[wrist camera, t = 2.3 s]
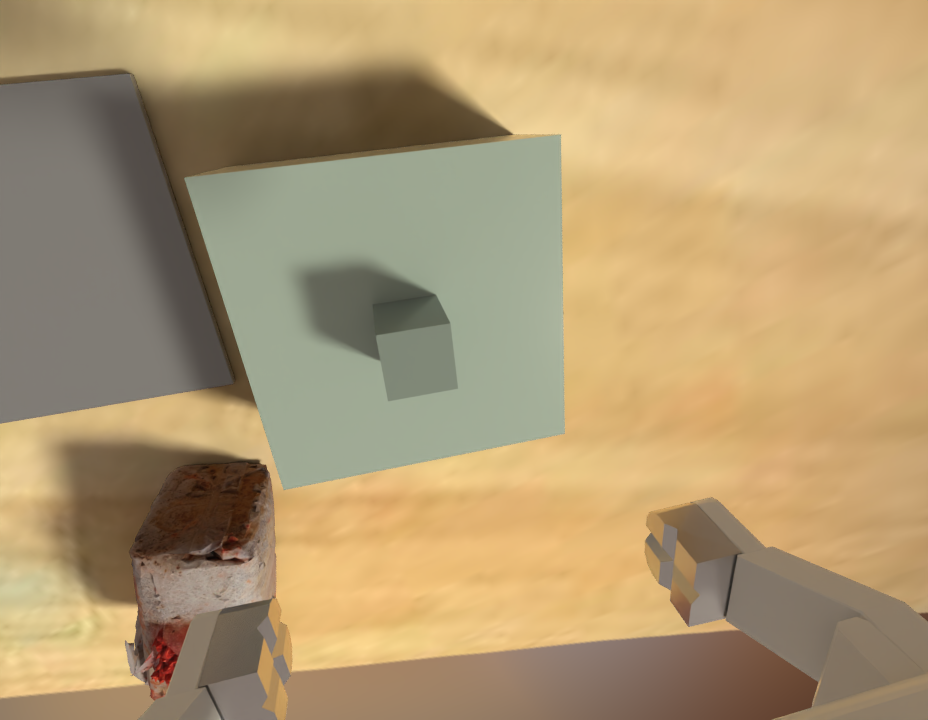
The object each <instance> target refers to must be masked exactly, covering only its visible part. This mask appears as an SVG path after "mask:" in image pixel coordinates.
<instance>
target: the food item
mask: <svg viewBox="0 0 928 720" xmlns="http://www.w3.org/2000/svg"><path fill="white" fill-rule="evenodd" d="M265 468H266V469H265ZM274 526H275V519H274V501H273V493H272V485H271V478H270V473H269V472H268V470H267V467H266V465H262V464H249V463H247V462H237V463H230V464H212V465H188V466H183V467H178V468H177V469H176V470H174V471H173V472H172V473H170V474H169V475H168V477H167V478H166V480H165V482H164V484H163V486H162V489H161V491H160V493H159V494H158V496H157V497H156V499H155V500H154V502H153V504H152V506H151V511H150V512H149V514H148V516H147V518H146V519H145V521H144V523H143V525H142V527H141V529H140V530H139V532H138V534H137V536H136V538H135V543H134V544H133V545H132V547H131V549H130V551H129V553H130V556H131V558H132V566H133V576H134V585H135V592H136V599H137V604H138V616H137V621H136V626H135V627H136V635H135V651H134V643H127V641H126V640H125V646H126V651H127V656H128V663H129V666H130V671H131V673H132V675H131V676H133V675H134V676H135V677H137V678H138V679H140V680H141V681H143V682H145V685H149V686H150V689H151V695H150V696H151V698H152V699H153V700H154V701H155V700H156V699H158V698H162V697H165V695H166V692H167V689H168V686H169V683H170V681H171V678H172V675H173V672H174V669H175V666H176V663H177V660H178V657H179V654H180V651H181V649H182V646H183V643H184V640H185V637H186V634H187V631H188V628H189V625H190V623H191V621H192V620H193V618H194V617H195V616H196V615H197V614H201V613H206V612H211V611H216V610H220V609H223V608H228V607H233V606H238V605H243V604H248V603H253V602H258V601H263V600H268V599H273V598H274V599H275V598H276V554H275V531H274Z"/></svg>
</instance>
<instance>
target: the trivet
mask: <svg viewBox="0 0 928 720" xmlns="http://www.w3.org/2000/svg"><path fill="white" fill-rule="evenodd" d="M234 382H235V378H234V375H233V372H232V369H231V366H230V363H229V360H228V357H227V354H226V351H225V348H224V345H223V342H222V339H221V336H220V333H219V330H218V327H217V324H216V321H215V318H214V315H213V312H212V309H211V306H210V303H209V300H208V297H207V294H206V291H205V288H204V285H203V282H202V279H201V276H200V273H199V270H198V267H197V264H196V261H195V258H194V255H193V252H192V249H191V246H190V243H189V240H188V237H187V234H186V231H185V228H184V225H183V222H182V219H181V216H180V213H179V210H178V207H177V204H176V201H175V198H174V195H173V192H172V189H171V186H170V183H169V180H168V177H167V174H166V171H165V168H164V165H163V162H162V159H161V156H160V153H159V150H158V147H157V144H156V141H155V138H154V135H153V131H152V128H151V125H150V122H149V119H148V116H147V113H146V110H145V107H144V104H143V101H142V98H141V95H140V92H139V89H138V86H137V83H136V80H135V77H134V75H133V74H119V75H107V76H96V77H84V78H73V79H61V80H50V81H38V82H26V83H15V84H3V85H0V424H1V423H7V422H12V421H18V420H24V419H30V418H36V417H42V416H48V415H54V414H60V413H65V412H71V411H77V410H83V409H89V408H95V407H101V406H107V405H112V404H118V403H124V402H130V401H136V400H142V399H148V398H154V397H160V396H165V395H171V394H177V393H183V392H189V391H195V390H201V389H207V388H213V387H218V386H224V385H230V384H234Z"/></svg>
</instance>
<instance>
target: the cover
mask: <svg viewBox="0 0 928 720" xmlns="http://www.w3.org/2000/svg"><path fill="white" fill-rule="evenodd" d="M184 179H185V182H186V185H187V189H188V192H189V195H190V198H191V201H192V204H193V207H194V211H195V214H196V217H197V220H198V223H199V226H200V229H201V232H202V236H203V239H204V242H205V245H206V248H207V251H208V254H209V257H210V261H211V264H212V267H213V270H214V273H215V276H216V279H217V283H218V286H219V289H220V292H221V295H222V298H223V301H224V304H225V308H226V311H227V314H228V317H229V320H230V323H231V326H232V329H233V333H234V336H235V339H236V342H237V345H238V348H239V351H240V355H241V358H242V361H243V364H244V367H245V370H246V373H247V376H248V380H249V383H250V386H251V389H252V392H253V395H254V398H255V402H256V405H257V408H258V411H259V414H260V417H261V420H262V423H263V427H264V430H265V433H266V436H267V439H268V442H269V445H270V448H271V452H272V455H273V458H274V461H275V464H276V467H277V470H278V474H279V477H280V480H281V483H282V486H283V489H284V490H286V489H291V488H296V487H301V486H306V485H311V484H316V483H321V482H326V481H331V480H336V479H341V478H346V477H351V476H356V475H361V474H366V473H371V472H376V471H381V470H386V469H391V468H396V467H401V466H406V465H411V464H416V463H421V462H426V461H431V460H436V459H441V458H446V457H451V456H456V455H461V454H466V453H471V452H476V451H481V450H486V449H491V448H496V447H501V446H506V445H511V444H516V443H521V442H526V441H531V440H536V439H541V438H546V437H551V436H556V435H561V434H565V419H564V343H563V266H562V189H561V135H536V134H514V135H505V136H496V137H487V138H478V139H469V140H460V141H452V142H443V143H434V144H425V145H416V146H407V147H398V148H390V149H381V150H372V151H363V152H354V153H345V154H336V155H328V156H319V157H310V158H301V159H292V160H283V161H275V162H266V163H257V164H248V165H239V166H230V167H224V168H220V169H216V170H212V171H208V172H204V173H201V174H197V175H193V176H189V177H185V178H184Z"/></svg>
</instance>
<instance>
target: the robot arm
mask: <svg viewBox="0 0 928 720" xmlns="http://www.w3.org/2000/svg"><path fill="white" fill-rule="evenodd" d="M646 526H647V527H648V529H649V530H650V531H651V533H650V535H649V536H648V537H647V539H646V540H645V555H646V559H647V563H648V566H649V568H650V570H651V572H652V574H653V576H654V577H655V579H656V580H657V582H658V583H659V584H660V585H662V586H664V587H666V588H668V589H669V590H671V595H670V601H671V603H672V604H673V605H674V607H675V608H676V610H677V611H678V613H679V614H680V615H681V617H682V618H683V620H684V621H685V623H686V624H687V626H688V627H690V626H694V625H699V624H703V623H707V622H712V621H716V620H720V619H724V618H726V621H727V622H729V623H730V624H732V625H733V626H735V627H736V628H738V629H739V630H741V631H742V632H744V633H745V634H747V635H748V636H750V637H751V638H753V639H755V640H756V641H757V642H759V643H760V644H762V645H764V646H765V647H767V648H768V649H770V650H771V651H773V652H774V653H776V654H777V655H779V656H780V657H782V658H783V659H785V660H786V661H788V662H789V663H791V664H792V665H794V666H795V667H797V668H798V669H800V670H801V671H803V672H804V673H806V674H807V675H809V676H810V677H812V678H813V679H815V680H816V681H818V682H819V684H818V687H817V690H816V693H815V697H814V700H813V704H812V708H809V709H806V710H803V711H799V712H796V713H793V714H790V715H786V716H783V717H780V718H776V719H773V720H928V622H927V621H926V620H925V619H924V618H922V617H921V616H920V615H919V614H918V613H917V612H915V611H914V610H913V609H912V608H911V607H909V606H908V605H907V604H906V603H905V602H903V601H900V600H898V599H896V598H893V597H891V596H889V595H886V594H884V593H881V592H879V591H877V590H874V589H872V588H870V587H867V586H865V585H862V584H860V583H858V582H855V581H853V580H851V579H848V578H846V577H843V576H841V575H839V574H836V573H834V572H832V571H829V570H827V569H825V568H822V567H820V566H817V565H815V564H813V563H810V562H808V561H806V560H803V559H801V558H798V557H796V556H794V555H791V554H789V553H787V552H784V551H782V550H779V549H777V548H775V547H768V548H766V547H765V546H764V545H763V544H762V543H761V542H760V541H759V540H758V539H757V538H756V537H755V536H754V535H753V534H752V533H751V532H750V531H749V530H748V529H746V528H745V527H744V526H743V525H742V524H741V523H740V522H739V521H738V520H737V519H736V518H735V517H734V516H733V515H732V514H731V513H730V512H729V511H728V510H727V509H726V508H725V507H724V506H723V505H722V504H721V503H720V502H719V501H718V500H717V499H714V498H712V497H711V498H706V499H702V500H698V501H694V502H691V503H685V504H681V505H677V506H672V507H668V508H664V509H660V510H656V511H652V512H649V514H648V516H647V522H646ZM280 616H281V608H280V606H279V603H278V601H277V599H274V598H273V599H268V600H263V601H258V602H253V603H248V604H243V605H238V606H233V607H228V608H223V609H220V610H216V611H211V612H206V613H201V614H197V615H196V616H195V617H194V618H193V620H192V621H191V623H190V625H189V628H188V631H187V634H186V637H185V640H184V643H183V646H182V649H181V651H180V654H179V657H178V660H177V663H176V666H175V669H174V672H173V675H172V678H171V681H170V683H169V686H168V689H167V692H166V695H165V697H162V698H158V699H156V700H155V701H154V702H153V704H151V706H150V707H149V708H148V709H147V710H146V711H145V712H144V713H143V714H142V715H141V717H140V718H139V719H138V720H285V719H286V711H287V703H288V697H287V694H286V692H285V689H284V684H285V683H286V682H287V680H288V679H289V677H290V676H291V669H292V643H291V638H290V633H289V630H288V627H287V625H285V624H283V623H282V622H280Z"/></svg>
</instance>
